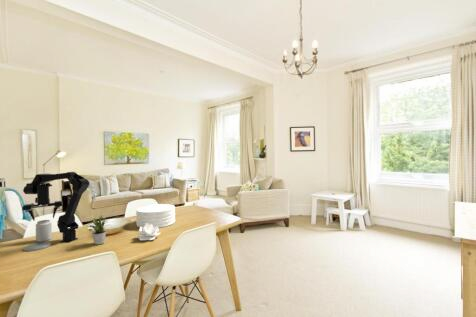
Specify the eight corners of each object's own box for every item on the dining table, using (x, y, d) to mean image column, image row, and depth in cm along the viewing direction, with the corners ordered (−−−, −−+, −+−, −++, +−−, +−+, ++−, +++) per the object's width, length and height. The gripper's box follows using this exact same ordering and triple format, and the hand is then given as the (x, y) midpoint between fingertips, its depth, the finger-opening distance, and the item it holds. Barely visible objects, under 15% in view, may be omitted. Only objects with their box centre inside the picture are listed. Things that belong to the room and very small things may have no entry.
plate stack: (182, 220, 185) (182, 206, 185) (152, 230, 161) (152, 214, 161) (159, 216, 200) (158, 202, 200) (128, 224, 176) (128, 209, 176)
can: (42, 242, 140) (42, 222, 140) (32, 242, 142) (32, 222, 142) (54, 238, 148) (54, 219, 148) (45, 237, 149) (44, 219, 149)
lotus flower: (139, 243, 137) (138, 228, 137) (133, 236, 149) (133, 223, 149) (163, 238, 145) (163, 224, 145) (156, 232, 158) (156, 219, 158)
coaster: (56, 243, 138) (56, 242, 138) (34, 252, 127) (34, 250, 127) (40, 242, 141) (40, 241, 141) (17, 250, 129) (17, 248, 129)
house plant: (87, 240, 144) (86, 213, 144) (112, 236, 149) (112, 211, 149) (82, 248, 131) (81, 219, 131) (110, 244, 136) (109, 216, 136)
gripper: (62, 191, 157) (63, 214, 157) (24, 194, 146) (25, 219, 146) (61, 193, 148) (62, 217, 148) (21, 196, 137) (22, 223, 137)
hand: (43, 219), depth 145 cm, fingers open, 9 cm apart
